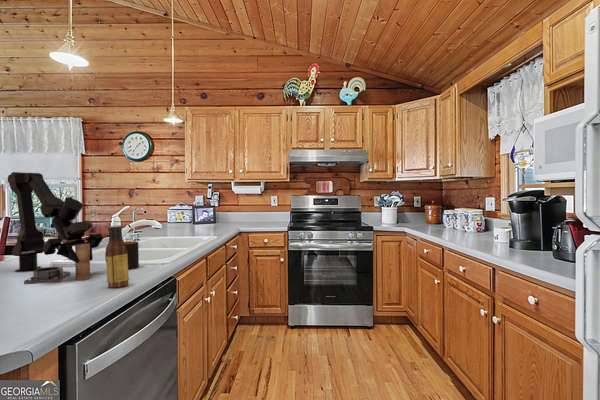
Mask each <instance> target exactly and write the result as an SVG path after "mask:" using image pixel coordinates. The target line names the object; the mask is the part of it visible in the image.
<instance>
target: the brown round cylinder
mask: <svg viewBox="0 0 600 400" xmlns="http://www.w3.org/2000/svg"><path fill="white" fill-rule="evenodd" d="M74 252H75V253H76V255H77V257H78V259H79V263H76V262H74V263H75V265H74V266H75V281H79V282H80V281H86V280H90V279H91V261H90V244H89V243H82V244H75V246H74Z"/></svg>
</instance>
